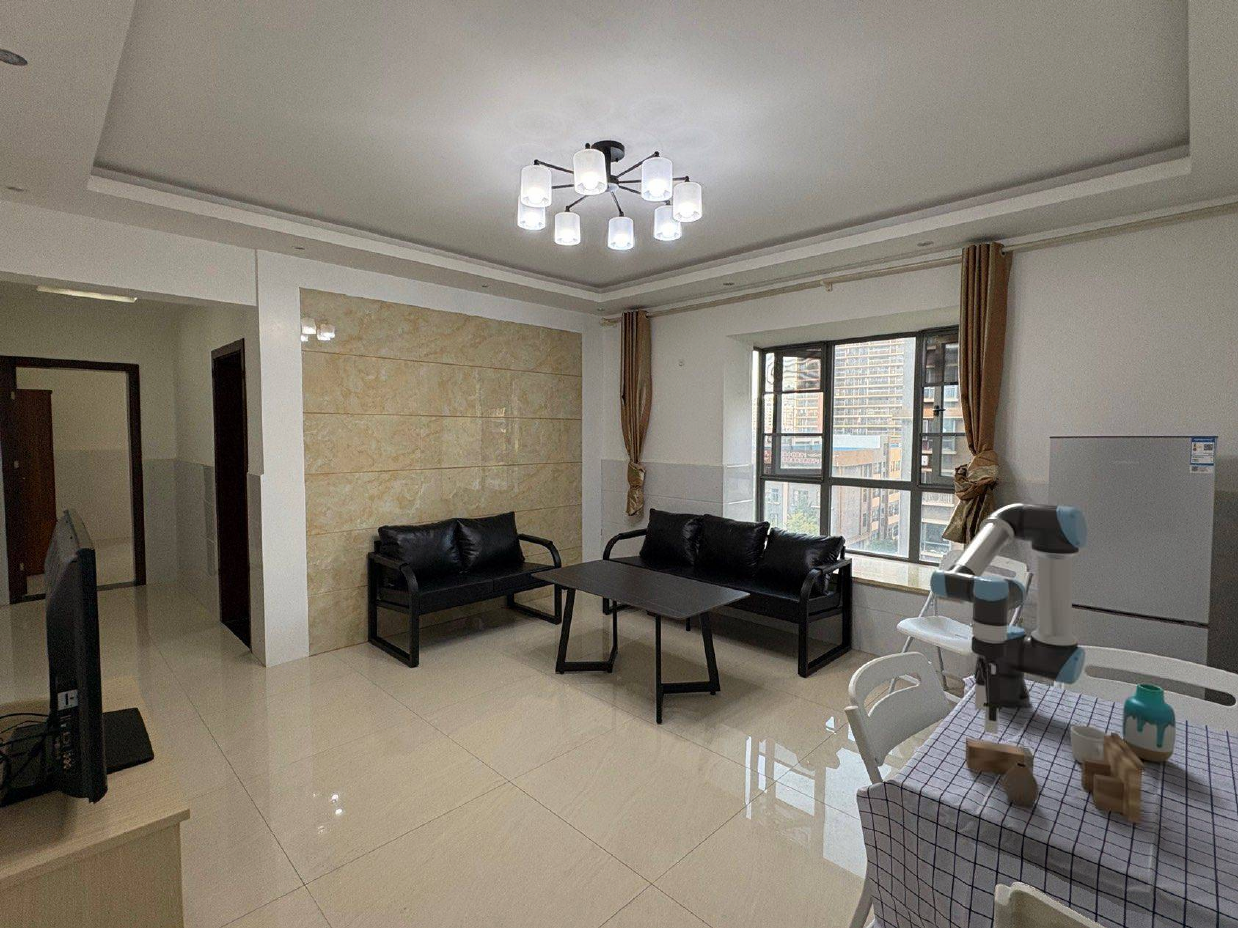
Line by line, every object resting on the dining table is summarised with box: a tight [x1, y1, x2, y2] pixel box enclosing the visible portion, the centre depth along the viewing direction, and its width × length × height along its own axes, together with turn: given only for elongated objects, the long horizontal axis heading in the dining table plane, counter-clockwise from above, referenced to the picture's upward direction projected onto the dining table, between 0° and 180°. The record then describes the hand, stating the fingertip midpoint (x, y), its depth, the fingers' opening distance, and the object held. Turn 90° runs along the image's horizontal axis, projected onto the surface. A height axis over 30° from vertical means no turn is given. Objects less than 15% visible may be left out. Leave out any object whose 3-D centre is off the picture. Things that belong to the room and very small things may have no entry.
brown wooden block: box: [964, 737, 1035, 776], centre depth 154 cm, size 14×5×6 cm, turn 68°
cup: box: [1070, 725, 1109, 764], centre depth 156 cm, size 11×8×8 cm
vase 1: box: [1002, 762, 1040, 807], centre depth 140 cm, size 7×7×9 cm
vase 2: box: [1121, 682, 1177, 763], centre depth 160 cm, size 11×11×19 cm
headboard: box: [1080, 731, 1147, 824], centre depth 141 cm, size 16×8×13 cm, turn 158°
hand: (985, 720), depth 154 cm, fingers open, 13 cm apart
